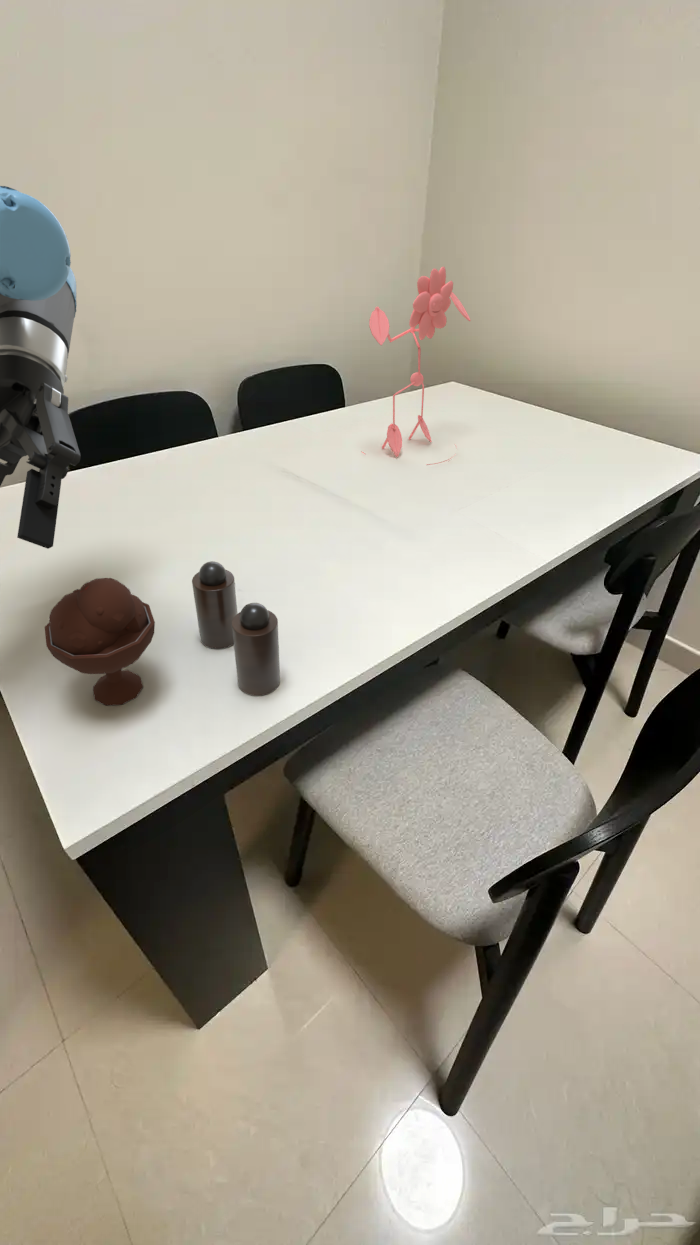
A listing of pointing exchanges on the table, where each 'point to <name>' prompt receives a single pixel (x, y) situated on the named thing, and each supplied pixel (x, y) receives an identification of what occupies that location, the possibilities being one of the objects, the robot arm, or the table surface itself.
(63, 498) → the table surface
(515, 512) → the table surface
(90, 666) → the ice cream bowl
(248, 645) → the walnut mill near
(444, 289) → the figurine
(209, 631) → the walnut mill middle
